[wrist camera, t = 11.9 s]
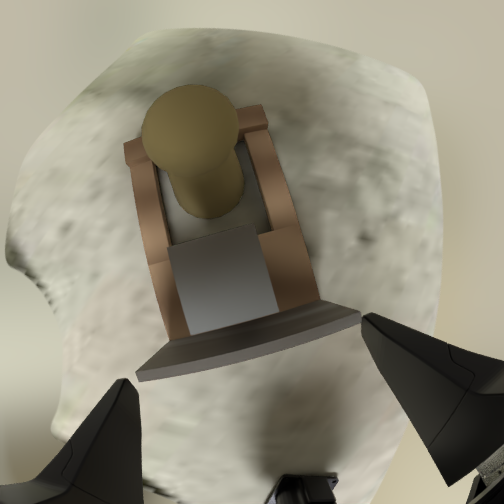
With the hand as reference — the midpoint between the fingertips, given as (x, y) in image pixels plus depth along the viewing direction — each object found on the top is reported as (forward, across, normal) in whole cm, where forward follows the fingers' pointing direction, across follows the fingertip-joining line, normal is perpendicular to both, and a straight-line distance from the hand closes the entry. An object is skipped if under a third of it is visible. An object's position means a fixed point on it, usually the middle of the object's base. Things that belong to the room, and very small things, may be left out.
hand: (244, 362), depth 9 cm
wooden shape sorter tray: (+14, 0, 0) cm, 14 cm away
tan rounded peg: (+16, 0, -4) cm, 17 cm away
